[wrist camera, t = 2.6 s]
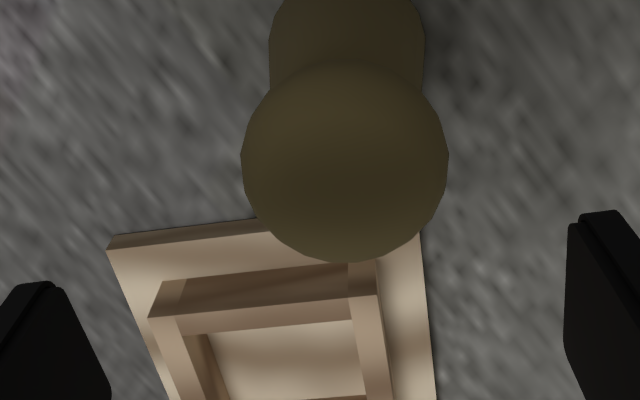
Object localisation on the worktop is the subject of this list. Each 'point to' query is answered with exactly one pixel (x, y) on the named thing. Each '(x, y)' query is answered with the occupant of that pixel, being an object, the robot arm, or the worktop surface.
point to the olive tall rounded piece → (345, 131)
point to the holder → (275, 316)
